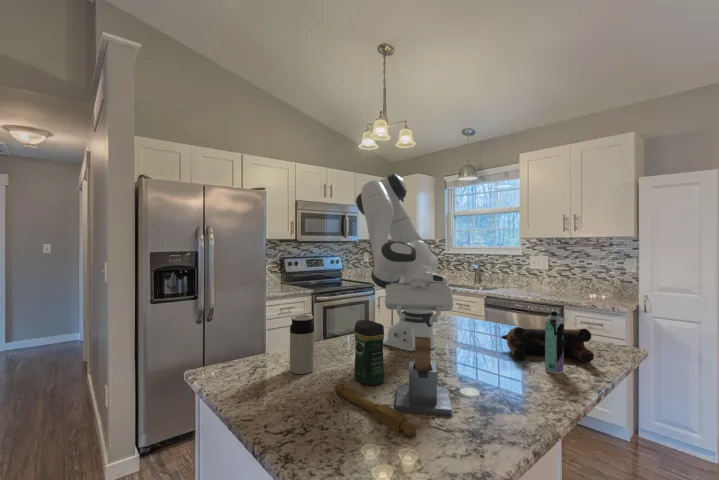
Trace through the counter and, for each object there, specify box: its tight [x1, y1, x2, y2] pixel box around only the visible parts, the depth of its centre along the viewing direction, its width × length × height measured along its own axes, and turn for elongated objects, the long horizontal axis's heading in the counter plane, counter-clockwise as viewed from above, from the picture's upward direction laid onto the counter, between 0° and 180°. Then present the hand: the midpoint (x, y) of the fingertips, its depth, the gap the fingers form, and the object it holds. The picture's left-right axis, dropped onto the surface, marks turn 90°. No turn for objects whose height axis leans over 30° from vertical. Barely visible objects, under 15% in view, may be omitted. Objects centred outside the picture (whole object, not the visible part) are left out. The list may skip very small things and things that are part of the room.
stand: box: [394, 361, 453, 417], centre depth 99 cm, size 14×14×10 cm
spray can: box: [544, 310, 565, 375], centre depth 122 cm, size 6×6×20 cm
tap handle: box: [334, 382, 417, 437], centre depth 93 cm, size 3×3×30 cm
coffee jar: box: [353, 319, 385, 386], centre depth 114 cm, size 10×8×19 cm
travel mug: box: [289, 314, 315, 375], centre depth 122 cm, size 8×8×18 cm
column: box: [414, 337, 432, 370], centre depth 99 cm, size 4×4×15 cm
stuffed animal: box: [501, 326, 595, 363], centre depth 142 cm, size 13×31×25 cm
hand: (418, 320), depth 106 cm, fingers open, 8 cm apart
